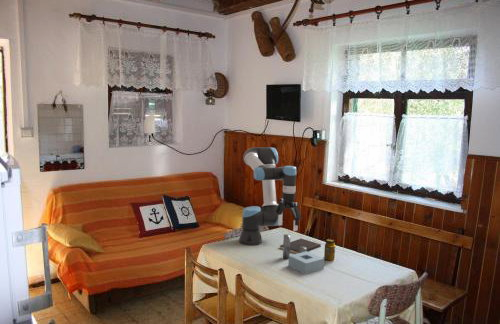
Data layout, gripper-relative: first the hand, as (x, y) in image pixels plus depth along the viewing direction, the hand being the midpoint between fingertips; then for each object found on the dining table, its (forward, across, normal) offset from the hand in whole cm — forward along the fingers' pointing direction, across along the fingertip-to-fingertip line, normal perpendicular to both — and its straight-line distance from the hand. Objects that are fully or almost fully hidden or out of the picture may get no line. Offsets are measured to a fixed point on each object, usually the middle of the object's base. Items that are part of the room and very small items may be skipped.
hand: (287, 227), depth 242 cm
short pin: (+19, +4, +10) cm, 22 cm away
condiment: (+19, +15, +20) cm, 31 cm away
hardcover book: (+19, -10, +21) cm, 31 cm away
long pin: (+19, 0, 0) cm, 19 cm away
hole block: (+19, +17, 0) cm, 25 cm away
